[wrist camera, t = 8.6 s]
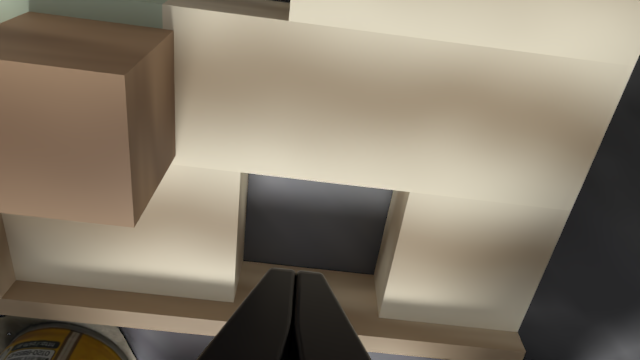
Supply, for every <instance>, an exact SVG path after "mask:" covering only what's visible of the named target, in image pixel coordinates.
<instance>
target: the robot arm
mask: <svg viewBox="0 0 640 360" xmlns="http://www.w3.org/2000/svg"><path fill="white" fill-rule="evenodd" d="M197 360H371V358H370V356H369V354H368V353H367V351H366V349H365V347H364V346H363V344H362V342H361V340H360V339H359V337H358V335H357V333H356V331H355V330H354V328H353V326H352V324H351V323H350V321H349V319H348V317H347V316H346V314H345V312H344V310H343V308H342V307H341V305H340V303H339V301H338V300H337V298H336V296H335V294H334V293H333V291H332V289H331V287H330V285H329V284H328V282H327V280H326V278H325V277H324V275H323V274H322V273H320V272H312V271H302V270H300V271H298V272H297V273H295V271H294V270H292V269H284V268H270V269H269V270H268V271H267V272H266V273H265V275H264V276H263V277H262V278H261V280H260V281H259V282H258V283H257V285H256V286H255V287H254V288H253V290H252V291H251V292H250V293H249V295H248V296H247V297H246V298H245V300H244V301H243V302H242V303H241V305H240V306H239V307H238V308H237V310H236V311H235V312H234V313H233V315H232V316H231V317H230V318H229V320H228V321H227V322H226V323H225V325H224V326H223V327H222V328H221V330H220V331H219V332H218V333H217V335H216V336H215V337H214V338H213V340H212V341H211V342H210V343H209V345H208V346H207V347H206V348H205V350H204V351H203V352H202V353H201V355H200V356H199V357H198V358H197Z"/></svg>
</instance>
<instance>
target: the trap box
mask: <svg viewBox="0 0 640 360" xmlns="http://www.w3.org/2000/svg"><path fill="white" fill-rule="evenodd" d="M26 12H37V13H45V14H52V15H60V16H68V17H75V18H83V19H91V20H98V21H106V22H114V23H122V24H129V25H137V26H145V27H152V28H160V29H168V30H174V84H175V148H176V156H175V158H174V160H173V161H172V163H171V165H170V166H169V168H168V170H167V172H166V173H165V175H164V177H163V179H162V180H161V182H160V184H159V186H158V187H157V189H156V191H155V193H154V194H153V196H152V198H151V200H150V201H149V203H148V205H147V207H146V208H145V210H144V212H143V214H142V215H141V217H140V219H139V221H138V222H137V224H136V226H135V228H132V227H123V226H114V225H105V224H96V223H87V222H78V221H69V220H60V219H51V218H42V217H33V216H24V215H15V214H6V213H0V315H9V316H19V317H29V318H39V319H49V320H59V321H69V322H79V323H89V324H99V325H108V326H118V327H128V328H138V329H148V330H158V331H168V332H178V333H188V334H198V335H208V336H216V335H217V333H218V332H219V331H220V330H221V328H222V327H223V326H224V325H225V323H226V322H227V321H228V320H229V318H230V317H231V316H232V315H233V313H234V312H235V311H236V310H237V308H238V307H239V306H240V305H241V303H242V302H243V301H244V300H245V298H246V297H247V296H248V295H249V293H250V292H251V291H252V290H253V288H254V287H255V286H256V285H257V283H258V282H259V281H260V280H261V278H262V277H263V276H264V275H265V273H266V272H267V271H268V270H269V269H270V268H284V269H292V270H294V271H295V273H297V272H298V271H300V270H302V271H312V272H320V273H322V274H323V275H324V277H325V278H326V280H327V282H328V284H329V285H330V287H331V289H332V291H333V293H334V294H335V296H336V298H337V300H338V301H339V303H340V305H341V307H342V308H343V310H344V312H345V314H346V316H347V317H348V319H349V321H350V323H351V324H352V326H353V328H354V330H355V331H356V333H357V335H358V337H359V339H360V340H361V342H362V344H363V346H364V347H365V349H366V351H367V352H377V353H387V354H397V355H407V356H417V357H427V358H437V359H447V360H523V358H524V356H525V354H526V351H525V348H524V346H523V344H522V341H521V339H520V336H519V334H518V330H519V328H520V326H521V323H522V321H523V319H524V316H525V314H526V312H527V310H528V307H529V305H530V303H531V301H532V298H533V296H534V294H535V291H536V289H537V287H538V285H539V282H540V280H541V278H542V276H543V273H544V271H545V269H546V266H547V264H548V262H549V260H550V257H551V255H552V253H553V250H554V248H555V246H556V244H557V241H558V239H559V237H560V235H561V232H562V230H563V228H564V225H565V223H566V221H567V219H568V216H569V214H570V212H571V210H572V207H573V205H574V203H575V200H576V198H577V196H578V194H579V191H580V189H581V187H582V185H583V182H584V180H585V178H586V175H587V173H588V171H589V169H590V166H591V164H592V162H593V160H594V157H595V155H596V153H597V150H598V148H599V146H600V144H601V141H602V139H603V137H604V135H605V132H606V130H607V128H608V125H609V123H610V121H611V119H612V116H613V114H614V112H615V109H616V107H617V105H618V103H619V100H620V98H621V96H622V94H623V91H624V89H625V87H626V84H627V82H628V80H629V78H630V75H631V73H632V71H633V69H634V66H635V64H636V62H637V59H638V57H639V55H640V0H290V3H287V2H280V1H272V0H0V23H2V22H4V21H7V20H9V19H12V18H14V17H17V16H19V15H22V14H24V13H26ZM249 173H250V174H259V175H267V176H276V177H285V178H293V179H302V180H310V181H319V182H328V183H336V184H345V185H353V186H362V187H371V188H379V189H388V190H393V193H392V198H391V202H390V206H389V211H388V215H387V220H386V224H385V228H384V233H383V237H382V241H381V246H380V250H379V255H378V259H377V263H376V268H375V272H374V275H368V274H359V273H350V272H341V271H331V270H322V269H313V268H303V267H294V266H285V265H276V264H266V263H257V262H248V261H243V254H244V238H245V222H246V207H247V191H248V175H249Z"/></svg>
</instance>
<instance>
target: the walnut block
mask: <svg viewBox="0 0 640 360" xmlns="http://www.w3.org/2000/svg"><path fill="white" fill-rule="evenodd" d="M175 156H176V148H175V84H174V30H168V29H160V28H152V27H145V26H137V25H129V24H122V23H114V22H106V21H98V20H91V19H83V18H75V17H68V16H60V15H52V14H45V13H37V12H26V13H24V14H22V15H19V16H17V17H14V18H12V19H9V20H7V21H4V22H2V23H0V213H6V214H15V215H24V216H33V217H42V218H51V219H60V220H69V221H78V222H87V223H96V224H105V225H114V226H123V227H132V228H135V226H136V224H137V222H138V221H139V219H140V217H141V215H142V214H143V212H144V210H145V208H146V207H147V205H148V203H149V201H150V200H151V198H152V196H153V194H154V193H155V191H156V189H157V187H158V186H159V184H160V182H161V180H162V179H163V177H164V175H165V173H166V172H167V170H168V168H169V166H170V165H171V163H172V161H173V160H174V158H175Z"/></svg>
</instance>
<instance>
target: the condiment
mask: <svg viewBox="0 0 640 360" xmlns="http://www.w3.org/2000/svg"><path fill="white" fill-rule="evenodd" d="M7 333H10V334H11V335H7ZM0 360H136V358H135V356H134V355H133V353H132V351H131V349H130V348H129V346H128V344H127V342H126V340H125V338H124V336H123V335H122V334H121V332H120V330H119V328H117V327H116V326H108V325H99V324H89V323H79V322H69V321H59V320H49V319H39V318H29V317H19V316H6V317H2V318H0Z"/></svg>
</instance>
